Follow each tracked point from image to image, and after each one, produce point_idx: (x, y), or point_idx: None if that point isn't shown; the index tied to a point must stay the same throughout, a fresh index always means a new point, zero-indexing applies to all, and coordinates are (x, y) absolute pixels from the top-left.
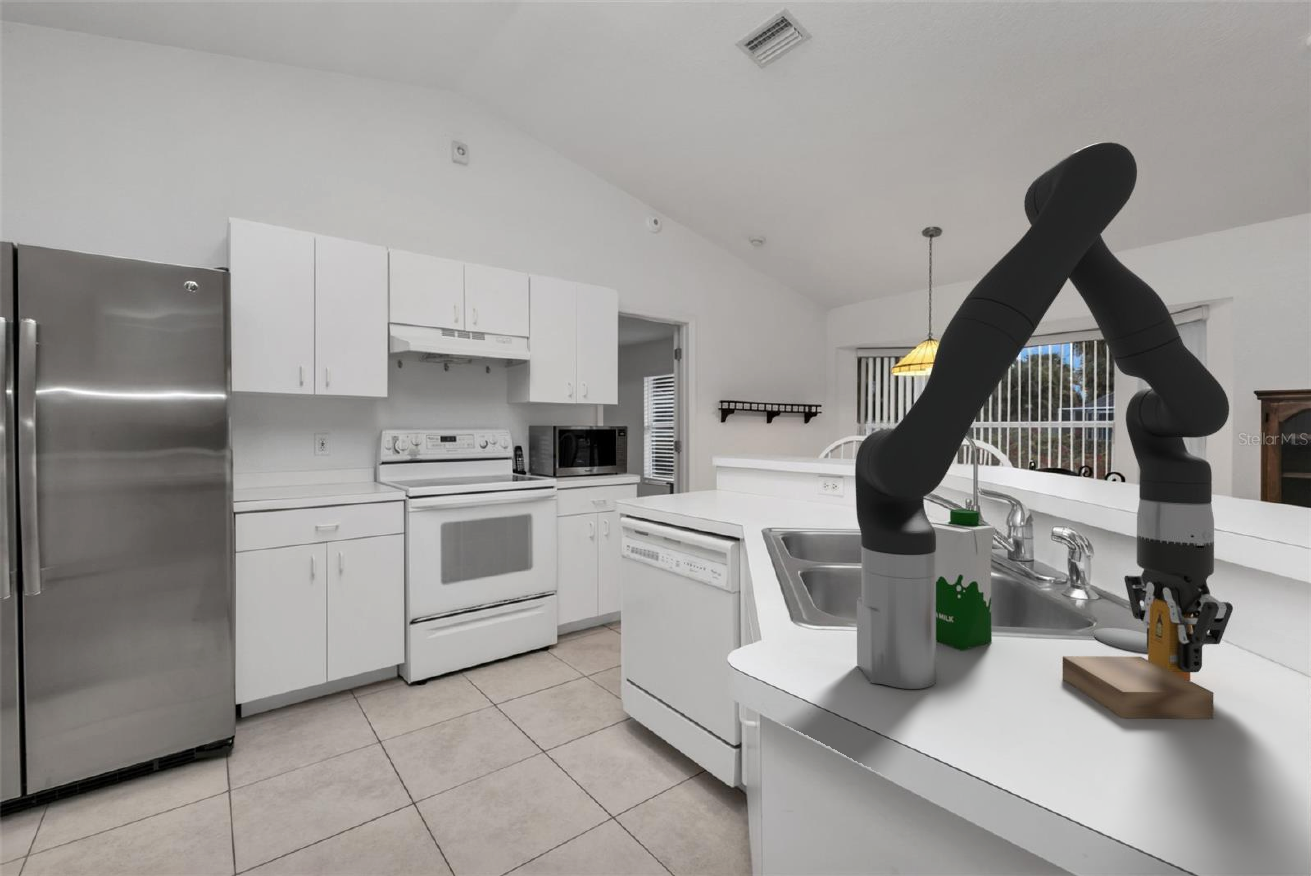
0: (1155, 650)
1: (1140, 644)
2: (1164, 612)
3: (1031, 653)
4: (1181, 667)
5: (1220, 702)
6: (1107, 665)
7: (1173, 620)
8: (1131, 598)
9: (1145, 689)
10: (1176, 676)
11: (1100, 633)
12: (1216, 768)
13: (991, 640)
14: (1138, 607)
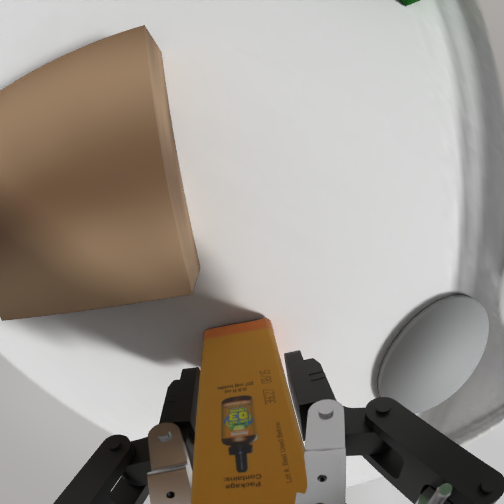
0: (247, 361)
1: (411, 367)
2: (217, 486)
3: (349, 53)
4: (184, 371)
5: (114, 361)
6: (81, 136)
7: (173, 472)
8: (430, 441)
9: None
10: (54, 301)
11: (471, 312)
12: None
13: (404, 2)
14: (386, 436)
